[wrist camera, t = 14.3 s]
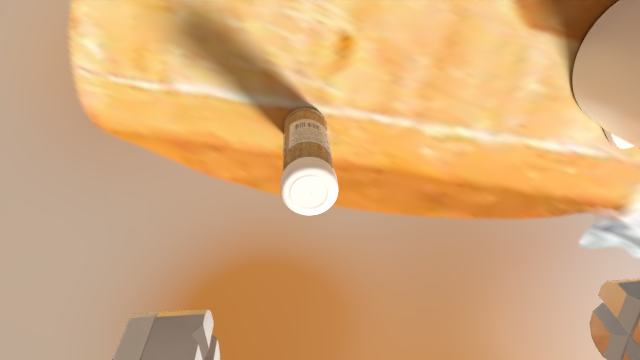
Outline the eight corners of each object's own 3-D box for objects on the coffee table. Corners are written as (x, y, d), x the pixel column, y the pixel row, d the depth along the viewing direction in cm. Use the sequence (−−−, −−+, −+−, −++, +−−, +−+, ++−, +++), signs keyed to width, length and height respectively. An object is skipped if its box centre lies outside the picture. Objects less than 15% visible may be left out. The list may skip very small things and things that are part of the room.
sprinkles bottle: (277, 138, 48) (272, 208, 36) (292, 99, 46) (292, 159, 34) (318, 152, 49) (325, 224, 37) (334, 114, 47) (348, 178, 35)
